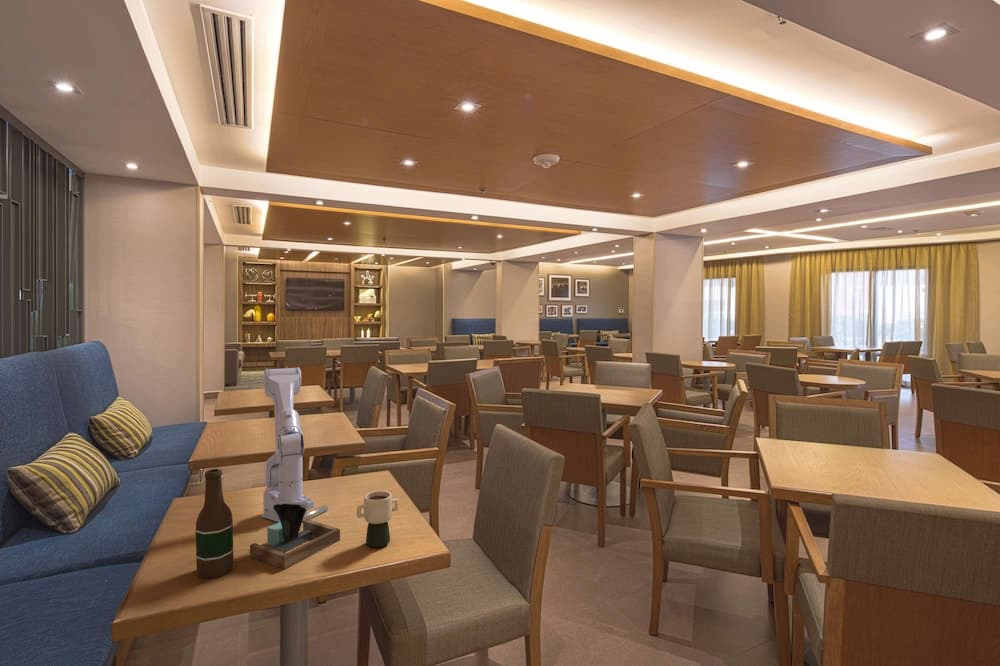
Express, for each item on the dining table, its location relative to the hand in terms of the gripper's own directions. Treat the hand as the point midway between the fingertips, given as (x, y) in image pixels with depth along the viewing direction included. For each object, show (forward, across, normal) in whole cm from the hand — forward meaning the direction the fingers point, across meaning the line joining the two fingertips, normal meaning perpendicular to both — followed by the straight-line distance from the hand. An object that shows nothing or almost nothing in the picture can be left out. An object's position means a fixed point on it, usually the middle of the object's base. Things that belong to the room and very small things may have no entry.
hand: (291, 531), depth 132 cm
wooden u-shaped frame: (+4, +2, 0) cm, 4 cm away
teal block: (+4, -4, 0) cm, 6 cm away
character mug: (+4, +19, +12) cm, 23 cm away
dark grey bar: (+4, 0, 0) cm, 4 cm away
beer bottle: (+4, -6, -17) cm, 18 cm away
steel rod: (+4, -9, +15) cm, 18 cm away
